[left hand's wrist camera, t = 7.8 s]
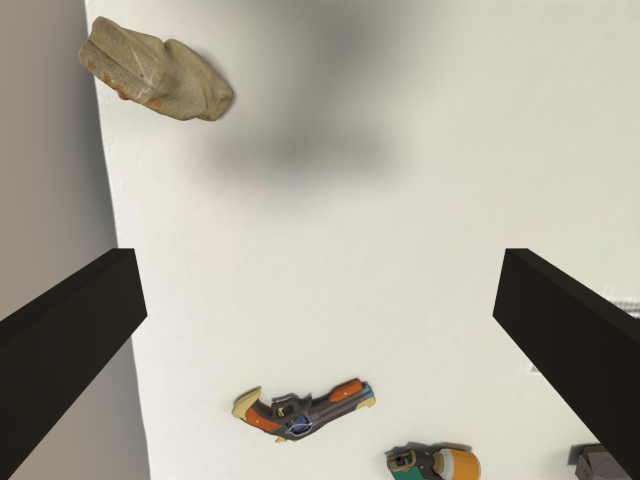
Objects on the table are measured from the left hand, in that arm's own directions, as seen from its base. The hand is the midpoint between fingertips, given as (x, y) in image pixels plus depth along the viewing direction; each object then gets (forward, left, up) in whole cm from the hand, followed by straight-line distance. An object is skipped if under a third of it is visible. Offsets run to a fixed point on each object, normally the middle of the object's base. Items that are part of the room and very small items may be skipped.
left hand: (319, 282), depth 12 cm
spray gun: (+48, +21, -28) cm, 60 cm away
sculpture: (-8, -13, -28) cm, 32 cm away
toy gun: (+33, -1, -28) cm, 44 cm away
